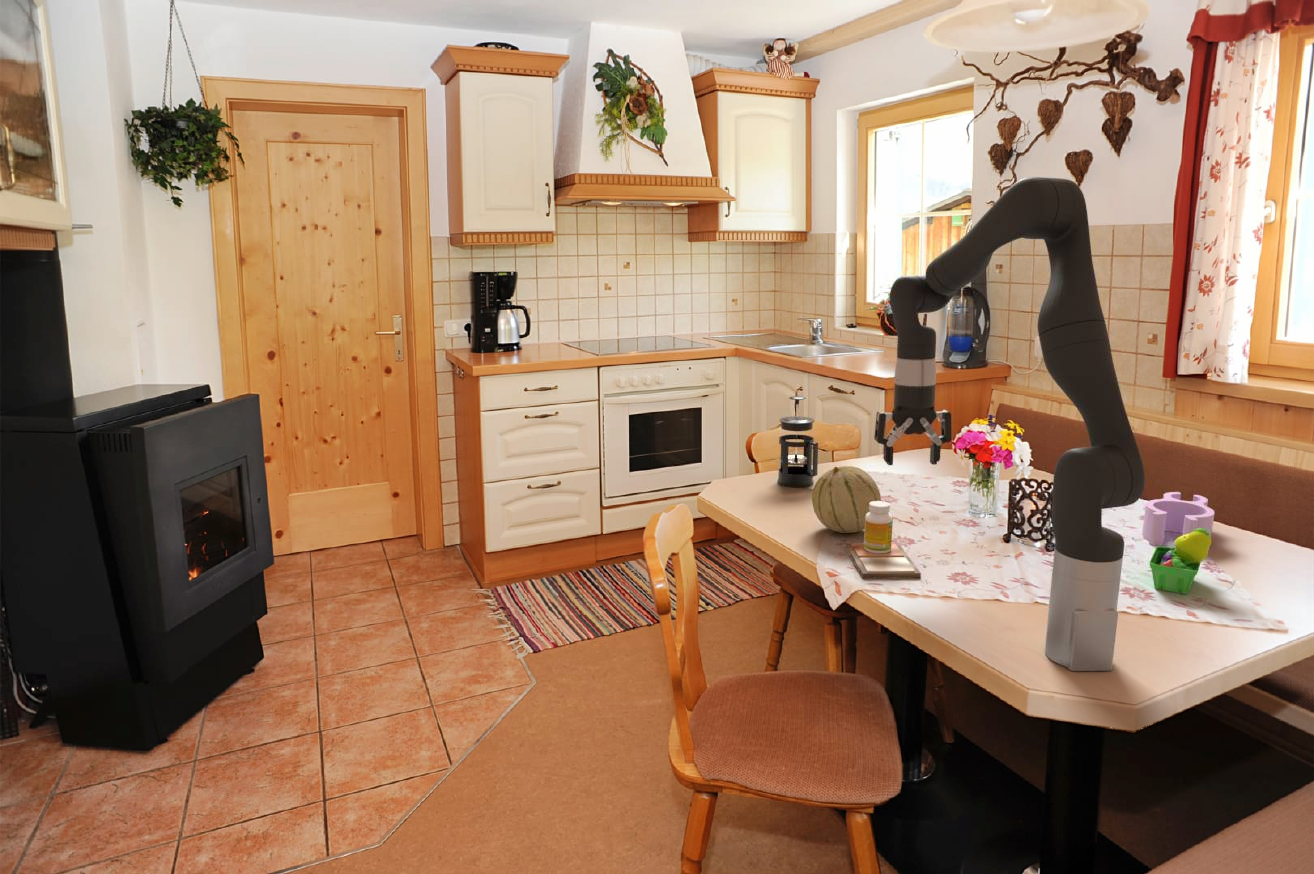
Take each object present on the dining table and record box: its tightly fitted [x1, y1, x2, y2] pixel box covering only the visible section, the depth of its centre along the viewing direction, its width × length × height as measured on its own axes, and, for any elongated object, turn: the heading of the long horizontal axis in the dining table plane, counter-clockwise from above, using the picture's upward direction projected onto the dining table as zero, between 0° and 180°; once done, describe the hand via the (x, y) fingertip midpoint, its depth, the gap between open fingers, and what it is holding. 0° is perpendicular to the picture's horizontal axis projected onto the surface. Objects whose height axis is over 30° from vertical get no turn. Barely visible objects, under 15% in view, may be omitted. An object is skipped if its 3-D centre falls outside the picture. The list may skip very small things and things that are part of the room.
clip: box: [1141, 491, 1215, 546], centre depth 186 cm, size 20×12×7 cm, turn 143°
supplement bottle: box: [863, 500, 894, 554], centre depth 176 cm, size 5×5×10 cm
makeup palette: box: [845, 542, 922, 579], centre depth 174 cm, size 16×11×1 cm
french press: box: [777, 395, 819, 489], centre depth 227 cm, size 12×9×23 cm
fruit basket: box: [1149, 528, 1213, 595], centre depth 160 cm, size 11×9×11 cm
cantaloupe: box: [811, 465, 882, 534], centre depth 191 cm, size 15×15×15 cm
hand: (911, 464), depth 170 cm, fingers open, 8 cm apart
